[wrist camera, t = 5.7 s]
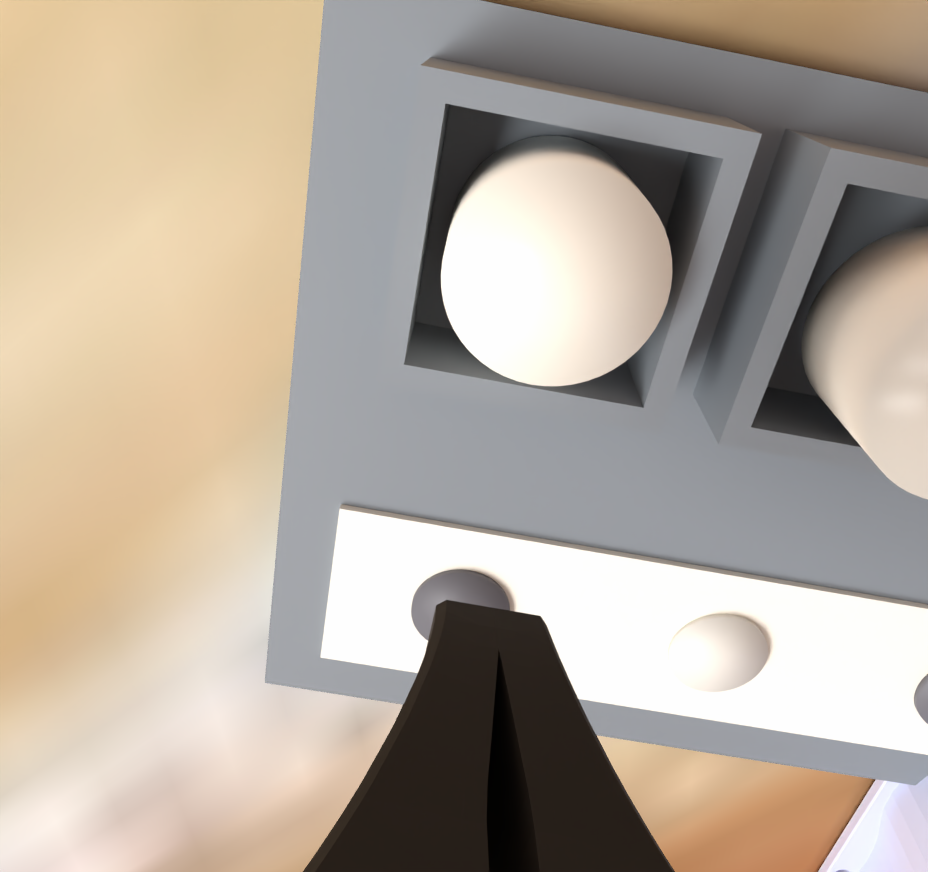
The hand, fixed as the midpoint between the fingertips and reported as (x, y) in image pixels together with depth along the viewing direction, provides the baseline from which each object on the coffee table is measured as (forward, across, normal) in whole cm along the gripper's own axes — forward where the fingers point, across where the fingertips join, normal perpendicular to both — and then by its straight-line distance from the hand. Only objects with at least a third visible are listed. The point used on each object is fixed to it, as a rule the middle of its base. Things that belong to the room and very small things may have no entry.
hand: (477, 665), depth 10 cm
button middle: (+7, -8, -4) cm, 11 cm away
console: (+10, -8, +1) cm, 13 cm away
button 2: (+9, -1, -4) cm, 9 cm away
